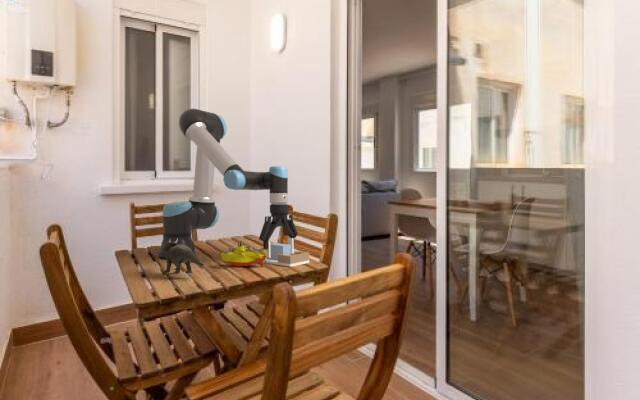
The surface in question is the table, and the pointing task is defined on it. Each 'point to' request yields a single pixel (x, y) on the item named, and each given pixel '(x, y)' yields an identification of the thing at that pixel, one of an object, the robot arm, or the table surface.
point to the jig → (282, 257)
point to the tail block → (279, 250)
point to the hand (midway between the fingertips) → (279, 255)
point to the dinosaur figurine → (179, 256)
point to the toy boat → (244, 256)
